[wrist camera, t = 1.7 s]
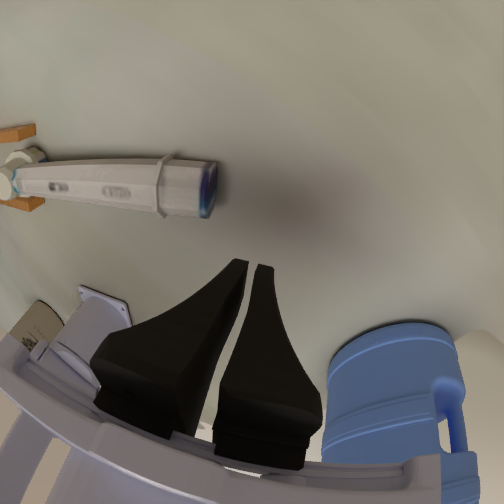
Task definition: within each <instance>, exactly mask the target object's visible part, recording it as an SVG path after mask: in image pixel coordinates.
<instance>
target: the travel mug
mask: <svg viewBox="0 0 504 504" xmlns="http://www.w3.org/2000/svg"><path fill="white" fill-rule="evenodd" d="M63 327H64V326H63V324H62V322H61V320H60V318H59V317H58V316H57V314H56V313H55V312H54V311H53V310H52V309H51V308H50V307H49V306H47V305H46V304H44V303H42V302H40V301H36V302H35V303H34V304H33V305H32V306H31V307H30V308H29V310H28V311H27V312H26V313H25V314H24V315H23V316H22V318H21V319H20V320H19V321H18V322H17V324H16V325H15V326H14V327H13V328H12V330H11V331H10V332H9V333H10V334H11V335H12V336H14V337H15V338H16V339H17V340H19V341H20V342H21V343H22V344H23V345H24V346H25V347H26V348H27V350H28V351H29V353H31V351H32V350H33V349H34V347H35V346H36V345H37V343H38V342H39V341H40V340H47V341H48V342H49V343H50V342H51V341H52V340H53V339H54V338H55V337H56V336H57V334H58V333H59V332H60V331H61V329H62V328H63ZM49 343H48V345H49Z"/></svg>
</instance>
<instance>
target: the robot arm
mask: <svg viewBox="0 0 504 504" xmlns="http://www.w3.org/2000/svg"><path fill="white" fill-rule="evenodd" d="M248 264H249V261H245V260H240V259H236V258H235V259H233V260H232V261H231V262H230V263H229V264H228V265H227V266H226V267H225V268H224V269H223V270H222V271H221V272H220V273H219V274H218V275H217V276H216V277H214V278H213V279H212V280H211V281H210V282H209V283H208V284H206V285H205V286H204V287H203V288H201V289H200V290H199V291H197V292H196V293H195V294H193V295H192V296H191V297H189V298H188V299H186V300H185V301H183V302H182V303H180V304H178V305H177V306H175V307H173V308H171V309H170V310H168V311H166V312H164V313H162V314H160V315H158V316H156V317H154V318H152V319H149V320H147V321H145V322H142V323H140V324H137V325H135V326H132V324H131V320H130V316H129V312H128V309H127V305H126V304H125V303H124V302H122V301H119V300H117V299H114V298H111V297H109V296H106V295H103V294H101V293H98V292H96V291H93V290H91V289H88V288H86V287H83V286H79V287H78V290H79V293H80V296H81V299H82V302H83V303H82V305H81V306H80V307H79V308H78V309H77V311H76V312H75V313H74V314H73V315H72V317H71V318H70V319H69V320H68V322H67V323H66V324H65V325H64V327H63V328H62V329H61V331H60V332H59V333H58V334H57V336H56V337H55V338H54V339H53V340H52V341H51V342H50V343H49V342H48V341H47V340H40V341H39V342H38V343H37V345H36V346H35V347H34V349H33V350H32V351H31V353H29V351H28V350H27V348H26V347H25V346H24V345H23V344H22V343H21V342H20V341H19V340H17V339H16V338H15V337H14V336H12V335H11V334H10V333H7V334H6V336H5V337H4V338H3V339H2V340H1V342H0V390H1V391H2V392H3V393H4V394H5V395H6V396H7V397H8V398H10V399H11V400H12V401H13V402H14V403H15V404H16V405H17V407H18V409H19V415H18V417H17V418H16V420H15V422H14V424H13V425H12V427H11V429H10V431H9V433H8V434H7V436H6V438H5V440H4V442H3V444H2V446H1V448H0V504H20V503H21V501H22V498H23V496H24V494H25V492H26V489H27V487H28V485H29V483H30V481H31V479H32V477H33V475H34V473H35V471H36V469H37V467H38V465H39V463H40V461H41V459H42V457H43V455H44V453H45V451H46V449H47V447H48V445H49V444H50V442H51V440H52V438H59V439H61V440H62V441H64V442H66V443H67V444H68V445H70V446H71V447H72V448H71V450H70V452H69V454H68V456H67V458H66V460H65V462H64V464H63V466H62V468H61V470H60V473H59V475H58V477H57V479H56V481H55V483H54V486H53V488H52V490H51V492H50V494H49V497H48V499H47V501H46V504H441V460H440V454H439V453H437V454H430V455H421V456H416V457H413V458H410V459H408V460H406V461H405V462H403V463H386V464H341V463H324V462H311V461H305V455H306V449H308V447H309V443H310V437H311V436H312V435H313V434H314V433H316V431H318V430H319V429H320V427H321V426H322V420H323V415H322V414H323V413H322V403H321V397H320V393H319V392H318V390H317V389H316V387H315V386H314V385H313V383H312V382H311V380H310V378H309V377H308V375H307V374H306V372H305V370H304V369H303V367H302V365H301V363H300V361H299V359H298V358H297V356H296V354H295V352H294V350H293V348H292V345H291V343H290V341H289V338H288V336H287V333H286V331H285V328H284V325H283V322H282V319H281V315H280V311H279V308H278V303H277V298H276V293H275V285H274V268H273V267H271V266H266V265H262V264H258V266H257V268H256V271H255V274H254V279H253V285H252V291H251V296H250V302H249V307H248V311H247V314H246V317H245V320H244V323H243V326H242V328H241V331H240V334H239V337H238V339H237V342H236V345H235V347H234V350H233V353H232V355H231V358H230V360H229V363H228V365H227V367H226V370H225V372H224V375H223V377H222V379H221V382H220V387H219V399H218V410H217V414H216V418H215V421H214V424H213V427H212V430H213V440H212V443H211V442H208V441H204V440H201V439H197V438H195V433H196V430H197V426H198V423H199V419H200V416H201V413H202V409H203V406H204V403H205V399H206V396H207V393H208V390H209V387H210V383H211V380H212V377H213V374H214V371H215V368H216V365H217V362H218V359H219V357H220V354H221V352H222V350H223V347H224V345H225V343H226V341H227V338H228V336H229V334H230V332H231V329H232V327H233V325H234V323H235V320H236V318H237V316H238V312H239V309H240V306H241V303H242V299H243V296H244V289H245V283H246V277H247V270H248ZM48 343H49V345H48ZM100 385H101V386H102V387H101V388H100V387H99V386H100ZM223 466H225V467H229V468H233V469H238V470H242V471H247V472H253V473H257V474H263V475H261V476H260V478H258V477H254V476H250V475H246V474H242V473H238V472H235V471H231V470H228V469H225V468H224V467H223Z"/></svg>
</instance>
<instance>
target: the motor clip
mask: <svg viewBox="0 0 504 504" xmlns="http://www.w3.org/2000/svg"><path fill="white" fill-rule="evenodd" d="M33 135H36V134H35V124H32V125H25V126H18V127H11V128H5V129H0V143H6V142H19V141H21V140H23V139H26V138H28V137H31V136H33ZM44 202H45V201H44V197H36V196H30V197H20V196H18V197H16V198H14V199H13V200H2V199H0V204H3V205H7V206H10V207H14V208H17V209H21V210H25V211H28V212H31V211H32V210H34V209H35V208H37V207H38V206H40V205H41V204H43V203H44Z"/></svg>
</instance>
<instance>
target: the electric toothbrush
mask: <svg viewBox="0 0 504 504" xmlns="http://www.w3.org/2000/svg"><path fill="white" fill-rule="evenodd" d="M216 182H217V166H216V163H215V162H203V161H190V160H175V159H173V157H172V155H171V154H167V155H165V156H164V157H163V158H161V159H91V160H72V161H57V162H48V160H47V158H46V156H45V154H44V152H41V151H40V150H38V149H37V147H29V148H27V149H22V150H16V151H14V152H12V153H11V154H10V156H9V157H8V158H7V159H6V163H5V165H4V166H2V167H1V168H0V199H2V200H13V199H14V198H16V197H18V196H20V197H30V196H36V197H44V198H52V199H60V200H68V201H76V202H83V203H91V204H98V205H105V206H112V207H119V208H126V209H133V210H140V211H146V212H153V213H155V214H156V215H157V216H158V217H159V218H160V219H164V218H165V217H166V216H167V214H168V215H178V216H187V217H196V218H204V219H209V218H210V216H211V214H212V211H213V208H214V202H215V197H216Z"/></svg>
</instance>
